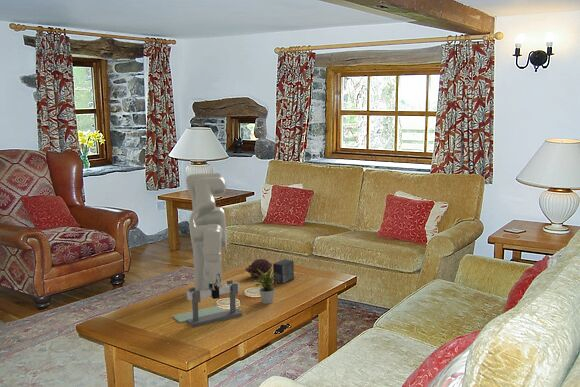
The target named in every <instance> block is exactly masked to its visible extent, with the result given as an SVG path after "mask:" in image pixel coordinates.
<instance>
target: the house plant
mask: <svg viewBox="0 0 580 387" xmlns="http://www.w3.org/2000/svg"><path fill="white" fill-rule="evenodd" d="M257 270H258V269H257ZM259 271H260V270H259ZM273 272H274V270H273V267H271V269H270V270H268V272H267V273H266V275H265V274H264V273H263V272H261V271H260V273H261V275H262V276H259V275H258V276H259V278H257V279H258V280H254V279H253V280H251V281H252V282H253V283H255V284H254V286H255V288H257V287H259V286H261V287H260V288H259V293H260V294H259V295H260V300H261V303H262V304H265V305H266V304H268V305H269V304H272V303H273V302H274V295H275V294H274V293H275V288H274V286H273V284H276V283H275V282H274V278H275V277H276V276H275V277H274V275H275V273H274V275H273ZM256 275H257V274H256ZM276 282H279V281H276Z"/></svg>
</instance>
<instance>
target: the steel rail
mask: <svg viewBox="0 0 580 387" xmlns="http://www.w3.org/2000/svg"><path fill="white" fill-rule="evenodd" d="M233 283H238V282H237V281H236V282H233ZM233 283H230V284H227V283H226V284H221V287H220V289H219V296H221V295H223V294H224V295H225V294H230V292H232V284H233ZM240 285H241V283H238V292H239V291H240V290H241V286H240ZM212 290H213V287H210V288H205V289H199V291H200V299H205V298H209V297H210V296H211V297H212ZM194 291H197V290H194ZM194 291H186V300H188V301H191V302H192V300H194Z"/></svg>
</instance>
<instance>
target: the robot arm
mask: <svg viewBox="0 0 580 387" xmlns="http://www.w3.org/2000/svg"><path fill="white" fill-rule="evenodd" d="M185 184H186V188H187V191H188V193H189V195H190V198H191V205H192V212H191V214H190V216H189V220H188V226H189V236H190V241H191V246H192V255H193V273H194V274H193V276H194V287H195V290H199V289H205V288H210V287H213V290H212V296H210V297H211V298H212V299H213V300H216V299H220V295H219V289H220V287H221V285H222V282H223V270H222V248H223V247H226V245H227V222H226V221H227V220H226V213H225V210H224V208H222V207H221V206H216V199H215V195H216V196H217V195H224V194H225V193H226V191H227V190H226V189H227V184H226V180H225V178H224V176H223V175H222V174H221V173H220V172H219V173H218V172H212V173H211V172H209V173H193V174H189V175H188V176H187V177H186V178H185Z"/></svg>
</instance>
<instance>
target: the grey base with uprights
mask: <svg viewBox="0 0 580 387" xmlns="http://www.w3.org/2000/svg"><path fill="white" fill-rule="evenodd" d="M230 283H233V284H232V292H230V293H229V303H230V310H228V311H224V312H219V313H215V314H210V315H205V316H201V317H198V310H199V303H201V298H200V291H199V290H197V291H194V290H195V286H193V287H189V289H188V290H189V291H194V300H191V303H192V304H191V305H192V311H193V318H192V319H187V322H186V324H187V325H189V326H190V327H191V328H195V327H201V326H205V325H208V324H212V323H213V324H214V323H217V322H222V321H226V320H230V319H235V318H239V317H240V318H241V317H243V312H242V311H240V309H239V310H237V309H236V307H237V305H236V296H237V295H238V293H239V291H238V282H237V283H235V282H234V281H233V279H229V280H226V284H230ZM189 291H188V292H189Z"/></svg>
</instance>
